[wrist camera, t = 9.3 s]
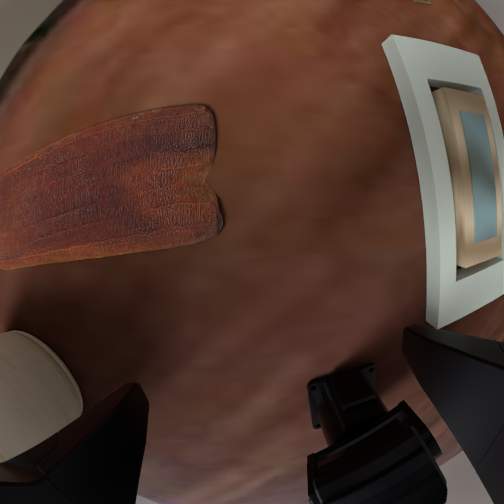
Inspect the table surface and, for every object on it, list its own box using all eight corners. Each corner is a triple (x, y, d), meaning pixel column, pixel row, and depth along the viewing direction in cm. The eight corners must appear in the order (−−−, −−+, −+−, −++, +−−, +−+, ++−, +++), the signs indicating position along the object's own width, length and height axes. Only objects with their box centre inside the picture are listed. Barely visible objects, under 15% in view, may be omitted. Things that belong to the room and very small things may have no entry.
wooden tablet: (212, 101, 18) (210, 94, 16) (228, 237, 20) (227, 241, 18) (-25, 181, 17) (-35, 182, 15) (-12, 273, 19) (-22, 277, 17)
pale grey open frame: (498, 285, 22) (509, 290, 20) (425, 320, 22) (437, 329, 20) (467, 60, 16) (478, 55, 15) (381, 43, 16) (391, 34, 14)
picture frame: (481, 248, 21) (502, 255, 18) (444, 260, 21) (466, 268, 18) (464, 101, 18) (485, 95, 15) (423, 95, 18) (445, 86, 15)
